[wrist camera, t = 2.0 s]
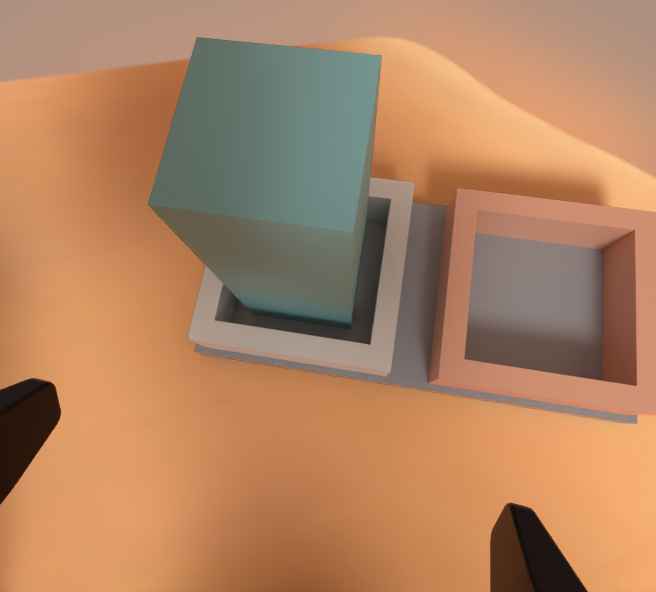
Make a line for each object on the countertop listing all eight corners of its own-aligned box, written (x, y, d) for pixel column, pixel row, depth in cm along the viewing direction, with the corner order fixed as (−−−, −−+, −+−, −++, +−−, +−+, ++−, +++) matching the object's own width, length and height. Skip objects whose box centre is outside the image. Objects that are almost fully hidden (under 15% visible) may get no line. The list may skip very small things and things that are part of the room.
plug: (350, 329, 22) (353, 232, 10) (252, 314, 22) (147, 204, 11) (365, 236, 23) (381, 55, 11) (272, 223, 23) (197, 37, 12)
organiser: (623, 423, 21) (676, 425, 18) (200, 354, 23) (174, 343, 19) (623, 237, 23) (669, 207, 20) (240, 188, 25) (223, 153, 22)
